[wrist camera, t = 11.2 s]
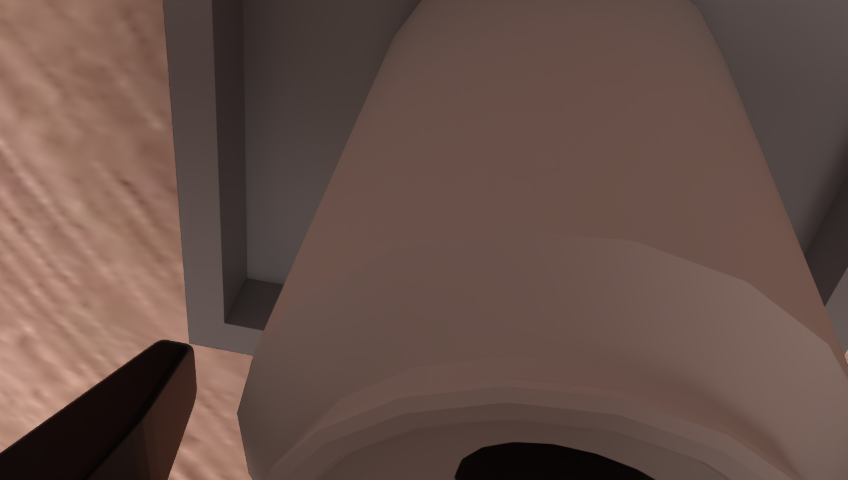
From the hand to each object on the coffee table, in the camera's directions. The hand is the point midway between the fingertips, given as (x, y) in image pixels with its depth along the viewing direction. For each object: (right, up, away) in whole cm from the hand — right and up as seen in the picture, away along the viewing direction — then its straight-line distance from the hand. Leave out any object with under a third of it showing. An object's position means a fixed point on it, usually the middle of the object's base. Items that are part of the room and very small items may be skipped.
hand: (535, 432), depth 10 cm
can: (+1, +6, +8) cm, 10 cm away
